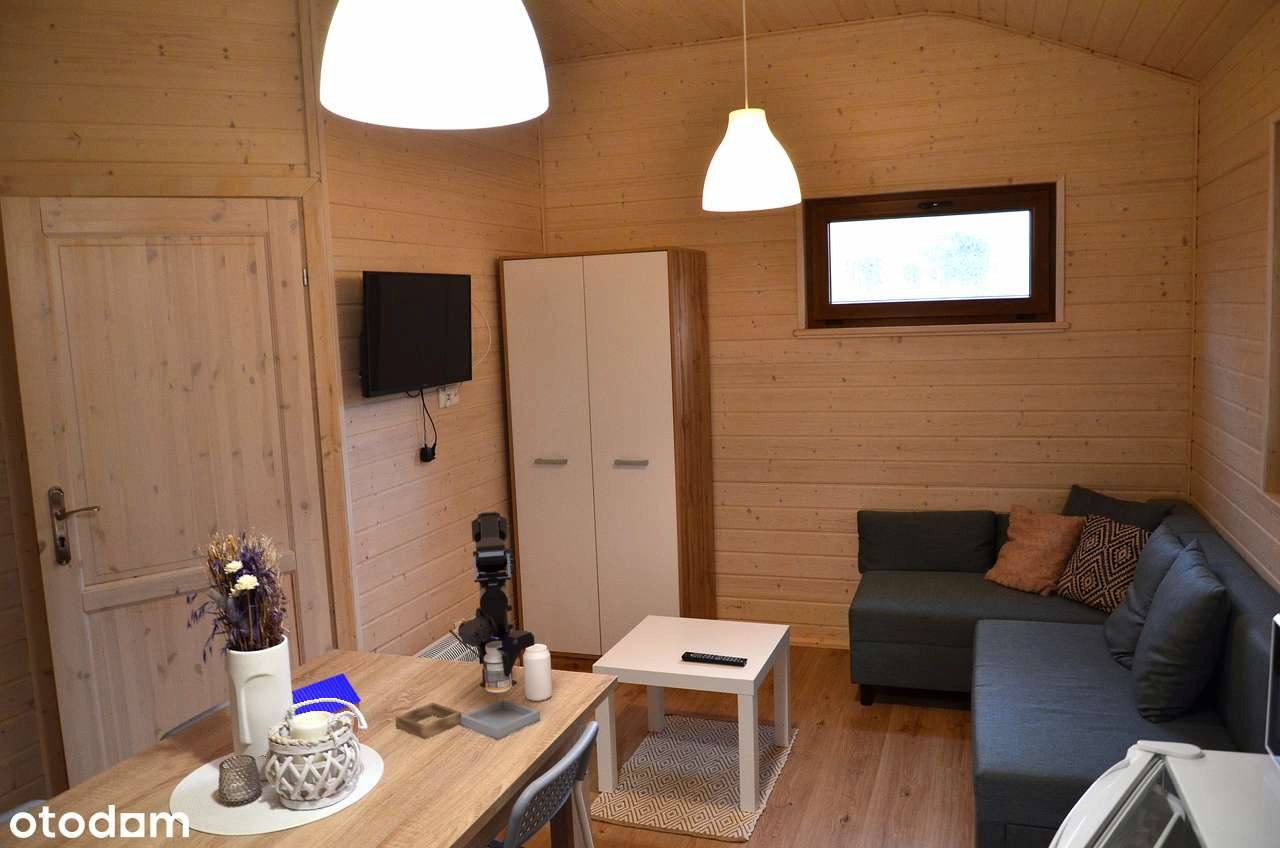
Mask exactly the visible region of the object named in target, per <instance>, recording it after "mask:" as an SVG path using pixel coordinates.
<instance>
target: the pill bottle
mask: <svg viewBox="0 0 1280 848" xmlns="http://www.w3.org/2000/svg"><path fill="white" fill-rule="evenodd" d="M500 647H503V646H502V641H493V642H490V643H487V644H486V646H485V648H486V652H487V654H486V655H485V656H484V672H485V686H486V687H485V690H486V691H487V692H489V693H494V694H497V693H498V694H499V693H500V694H501V693H504V692H507V691H510V690H511V689H512V686H513V685H512V680H513V673H512V674H511V673H510V675H509V676H507V677H506V676H505V674H504V669H503V661H502V654H501V653H500V652H499V651H498V650H497V649H498V648H500Z"/></svg>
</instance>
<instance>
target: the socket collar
mask: <svg viewBox="0 0 1280 848" xmlns="http://www.w3.org/2000/svg"><path fill="white" fill-rule="evenodd" d="M432 715H433V717H435V716H436V717H435V718H439V719H437V720H434V721H432V722H429V723H427V724H422V723H420V721H419V720H421V721H423V720H425V719H428V718H430V717H432ZM462 715H463V714H462V712H461V711H458V710H455V709H453V708H449V707H447V706H444V705H441V704H439V703H436V702H430V703H428V704H425V705H423V706H420V707H418V708H415V709H412V710H409V711H407V712H405V713H402V714H399V715H397V716H395V717H394V718H395V719H394V720H395V728H396V727H397V728H399V729H401V730H400V731H402V730H404V731H406V732H405V733H407V732H408V733H407V734H409V733H411V734H410V735H412V734H413V736H414V735H415V736H414V737H417V736H418V737H417V738H419V737H420V738H419V739H421V738H422V739H421V740H424V741H425V740H427V739H429V738H432V737H434V736H436V735H439V734H441V733H443V731H444V732H446V731H448V730H451V729H453V728H456V727H458V726H460V725H461V716H462ZM427 717H428V718H427ZM424 718H425V719H424ZM440 718H442V719H440ZM422 719H423V720H422ZM417 721H418V722H417ZM457 725H458V726H457ZM455 726H456V727H455ZM452 727H453V728H452ZM397 728H396V729H397ZM450 728H451V729H450ZM399 729H398V730H399ZM447 729H448V730H447ZM445 730H446V731H445ZM404 731H403V732H404Z"/></svg>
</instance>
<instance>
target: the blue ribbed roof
mask: <svg viewBox="0 0 1280 848" xmlns="http://www.w3.org/2000/svg"><path fill="white" fill-rule="evenodd" d="M292 694H293V703H294V704H297V703H300V702H304V701H307V700H314V699H319V698H337V699H340V700H344V701H347V702H350V703H352V704H354V705H355V706H356V707H357V708H358V709H359V710H361V709H360V702H361V701H362V700H361V698H360V697H359V696H358V694H357V692H356V691H355V689H354V688H353V686H352V685H351V683H350V681H349V680H348V679H347V677H346V676H345V674H344V673H339V674H337V675H333V676H331V677H329V678H326V679H322V680H320V681H318V682H313V683H311V684H309V685H306V686H303V687H302V686H301V687H300V688H297V689H295V690H292ZM310 711H327V712H330V713H334V714H337V713H341V712H344V711H350V712H352V710H351V709H350V708H349V707H348V706H346V705H344V704H341V703H337V702H319V703H313V704H309V705H305V706H302V707H300V708H298V709H296V711H295V714H296V715H298V714H302V713H306V712H310ZM354 716H356V715H354ZM358 729H359V728H358V719H357V717H354V725H353V731H354V733H358V732H359V731H358ZM359 730H360V731H362V728H361V729H359ZM354 733H353V734H354Z"/></svg>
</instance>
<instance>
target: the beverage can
mask: <svg viewBox="0 0 1280 848" xmlns="http://www.w3.org/2000/svg"><path fill="white" fill-rule="evenodd" d="M524 650H525V651H524V653H523V655H522V661H523V662H522V663H523V664H522V665H523V666H522V667H523V681H524V683H523V684H524V696H525V698H527V699H528V700H529V701H531V700H532V701H531V702H535V701H539V702H543V701H542V700H544V701H546V700H548V699H549V698H550V697H551V696H552V695H553V683H552V663H551V661H552V660H551V653H550V651H549V649H548V646H547V645H546V644H543V643H535V645H533V646H531V647H528V648H525V649H524ZM547 698H548V699H547ZM545 699H546V700H545Z"/></svg>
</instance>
